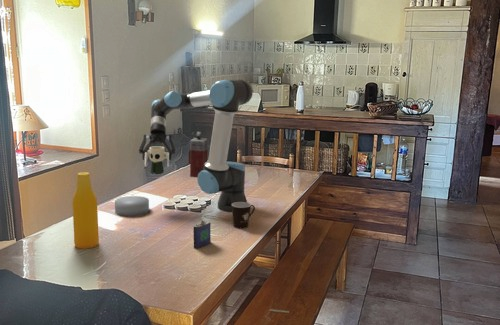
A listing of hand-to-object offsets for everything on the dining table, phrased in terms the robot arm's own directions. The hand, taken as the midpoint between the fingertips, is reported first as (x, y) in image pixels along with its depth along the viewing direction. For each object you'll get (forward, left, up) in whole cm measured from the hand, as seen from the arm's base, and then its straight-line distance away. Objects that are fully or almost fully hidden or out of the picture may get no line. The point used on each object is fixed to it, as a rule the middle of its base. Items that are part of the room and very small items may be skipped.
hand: (156, 165), depth 232 cm
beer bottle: (-31, +39, -23) cm, 55 cm away
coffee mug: (-38, -28, -23) cm, 52 cm away
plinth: (+4, +11, -23) cm, 26 cm away
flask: (-51, -2, -23) cm, 56 cm away
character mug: (+3, -1, -5) cm, 6 cm away
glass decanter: (+58, -46, -23) cm, 78 cm away
